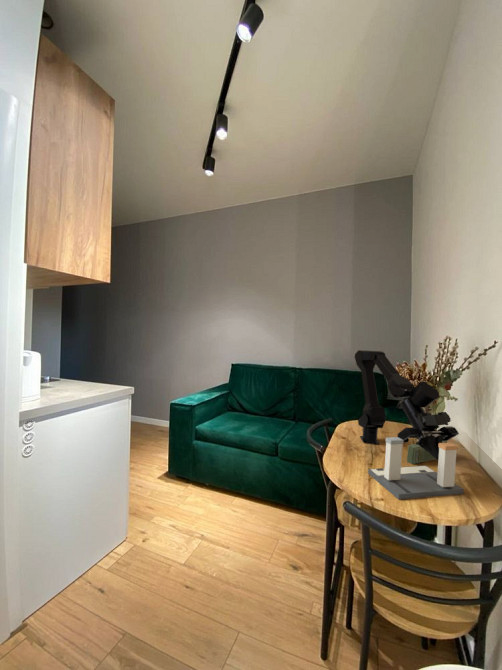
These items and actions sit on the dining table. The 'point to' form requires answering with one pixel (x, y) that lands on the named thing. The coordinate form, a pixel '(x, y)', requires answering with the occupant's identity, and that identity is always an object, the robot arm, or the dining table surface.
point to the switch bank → (414, 483)
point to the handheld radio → (418, 454)
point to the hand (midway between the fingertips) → (442, 462)
